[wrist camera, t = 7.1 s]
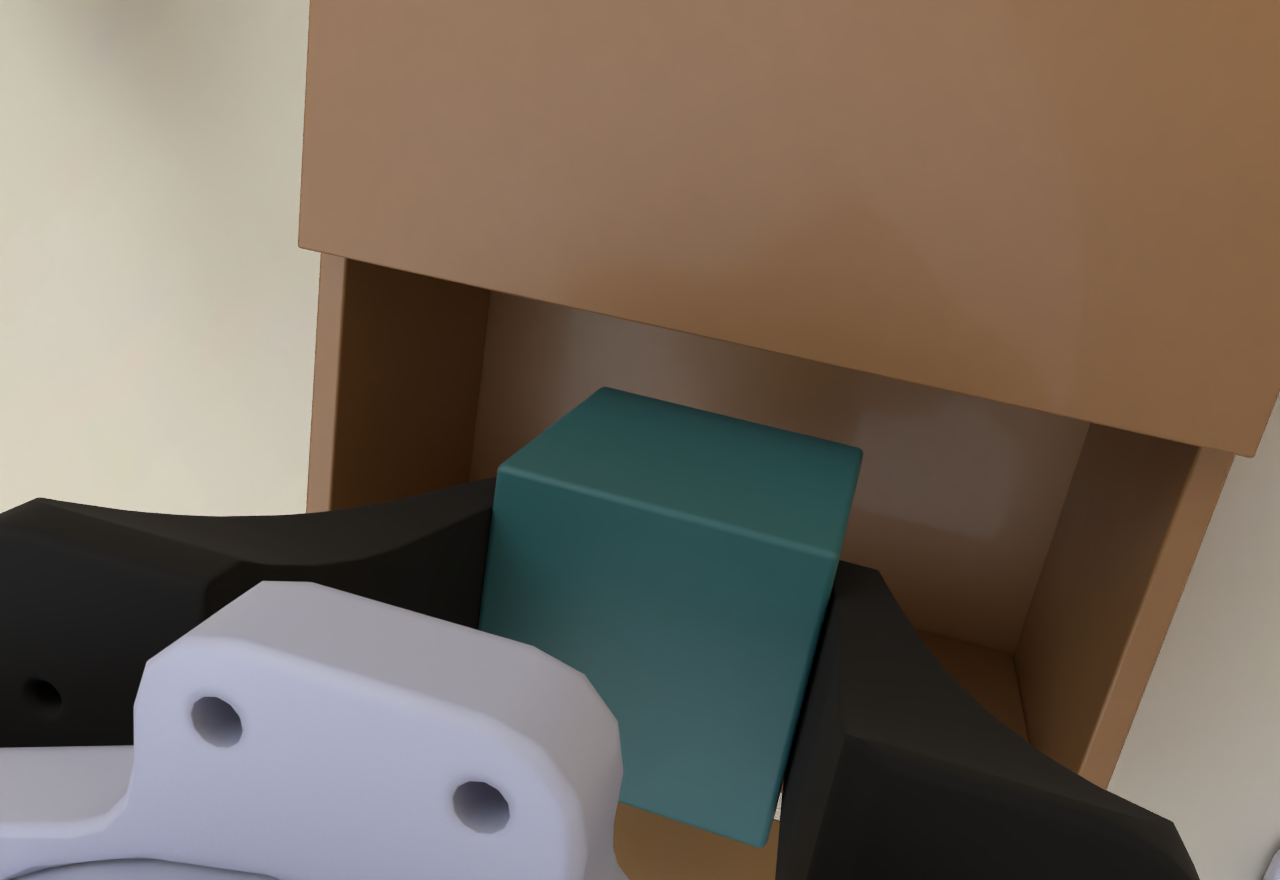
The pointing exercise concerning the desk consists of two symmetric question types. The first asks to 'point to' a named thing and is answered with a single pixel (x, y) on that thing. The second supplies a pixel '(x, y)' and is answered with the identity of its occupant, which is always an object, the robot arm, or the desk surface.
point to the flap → (686, 850)
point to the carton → (829, 280)
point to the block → (676, 589)
